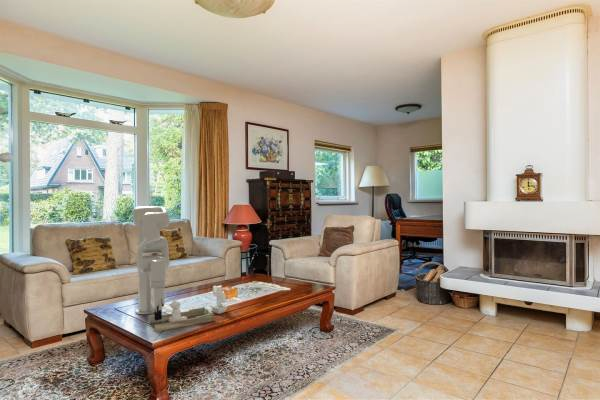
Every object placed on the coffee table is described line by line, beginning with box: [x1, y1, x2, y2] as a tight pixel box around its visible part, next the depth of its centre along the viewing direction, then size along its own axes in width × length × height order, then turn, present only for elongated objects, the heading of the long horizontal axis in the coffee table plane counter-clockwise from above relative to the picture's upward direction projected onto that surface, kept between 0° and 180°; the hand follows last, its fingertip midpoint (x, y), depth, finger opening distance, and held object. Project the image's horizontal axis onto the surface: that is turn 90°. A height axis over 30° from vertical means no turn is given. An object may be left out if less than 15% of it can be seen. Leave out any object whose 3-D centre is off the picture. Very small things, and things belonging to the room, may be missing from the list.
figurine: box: [209, 284, 229, 315], centre depth 210 cm, size 7×9×15 cm
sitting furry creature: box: [168, 300, 188, 323], centre depth 192 cm, size 10×9×12 cm
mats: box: [149, 321, 164, 331], centre depth 187 cm, size 11×6×1 cm, turn 33°
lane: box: [148, 306, 214, 333], centre depth 193 cm, size 14×30×4 cm, turn 123°
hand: (158, 319), depth 187 cm, fingers closed
